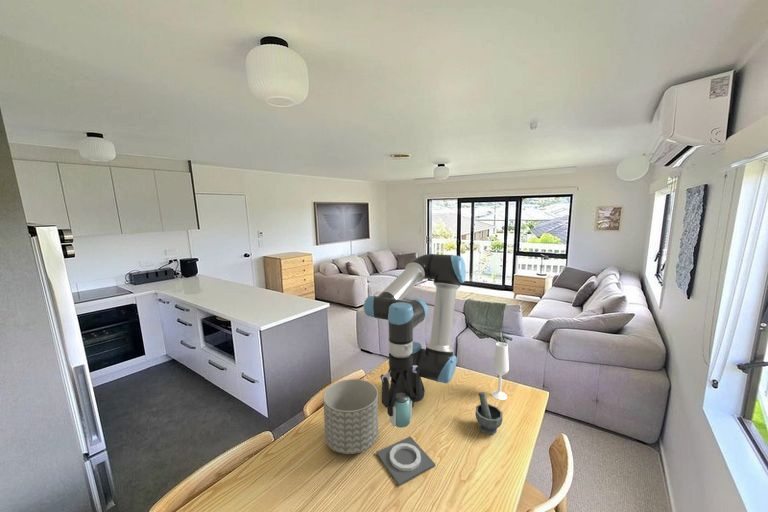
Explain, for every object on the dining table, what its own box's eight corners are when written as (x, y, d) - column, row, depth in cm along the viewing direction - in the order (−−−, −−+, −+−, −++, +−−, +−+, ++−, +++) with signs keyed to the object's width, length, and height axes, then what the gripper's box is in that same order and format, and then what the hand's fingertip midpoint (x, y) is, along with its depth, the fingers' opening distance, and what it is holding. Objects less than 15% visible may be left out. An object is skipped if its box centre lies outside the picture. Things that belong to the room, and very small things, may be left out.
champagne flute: (508, 393, 132) (511, 343, 129) (505, 401, 127) (508, 349, 124) (493, 389, 136) (495, 340, 133) (489, 396, 130) (492, 345, 127)
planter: (386, 429, 111) (385, 384, 108) (364, 469, 93) (364, 417, 91) (341, 417, 118) (340, 375, 115) (314, 452, 100) (312, 403, 98)
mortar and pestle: (507, 435, 107) (509, 405, 106) (484, 440, 105) (486, 409, 103) (489, 415, 118) (490, 387, 117) (468, 419, 116) (469, 391, 114)
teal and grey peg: (389, 419, 96) (389, 394, 94) (403, 413, 98) (403, 389, 97) (398, 429, 91) (398, 404, 90) (413, 423, 94) (413, 398, 92)
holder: (376, 454, 99) (376, 449, 99) (410, 438, 106) (410, 433, 106) (399, 486, 87) (399, 481, 87) (435, 466, 94) (435, 461, 94)
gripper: (380, 365, 84) (381, 438, 87) (431, 350, 93) (430, 417, 96) (368, 354, 90) (370, 423, 94) (417, 341, 99) (417, 404, 102)
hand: (400, 420), depth 95 cm, fingers closed on teal and grey peg, 5 cm apart
